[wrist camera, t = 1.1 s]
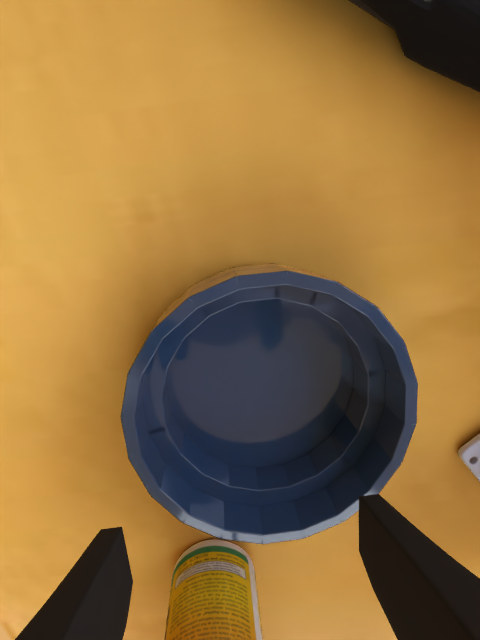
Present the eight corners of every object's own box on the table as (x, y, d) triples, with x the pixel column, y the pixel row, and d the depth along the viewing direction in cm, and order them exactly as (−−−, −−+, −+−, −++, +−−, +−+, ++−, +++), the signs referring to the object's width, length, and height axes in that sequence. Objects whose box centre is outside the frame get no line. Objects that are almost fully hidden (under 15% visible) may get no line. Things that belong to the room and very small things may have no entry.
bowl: (418, 386, 21) (470, 425, 17) (249, 520, 23) (257, 588, 18) (275, 209, 18) (295, 201, 14) (90, 375, 20) (56, 416, 15)
